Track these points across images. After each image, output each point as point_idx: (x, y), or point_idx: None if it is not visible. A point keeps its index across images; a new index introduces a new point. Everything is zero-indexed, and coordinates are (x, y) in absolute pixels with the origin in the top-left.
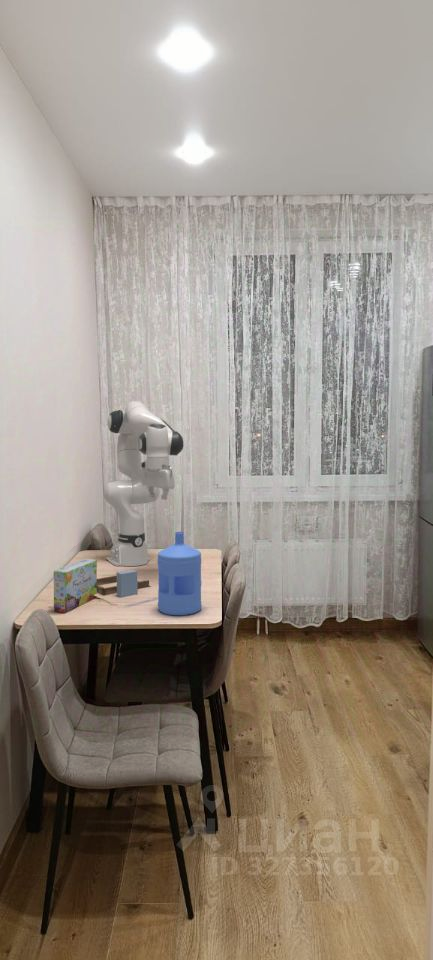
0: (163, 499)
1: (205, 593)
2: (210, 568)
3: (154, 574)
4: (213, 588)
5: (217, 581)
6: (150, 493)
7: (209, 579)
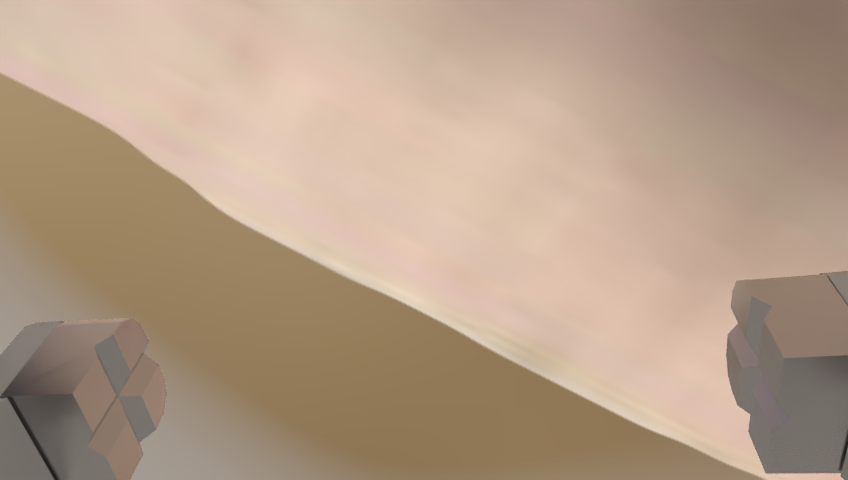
0: (50, 323)
1: (171, 104)
2: (652, 375)
3: (768, 29)
4: (253, 190)
5: (378, 274)
6: (836, 349)
7: (438, 261)
